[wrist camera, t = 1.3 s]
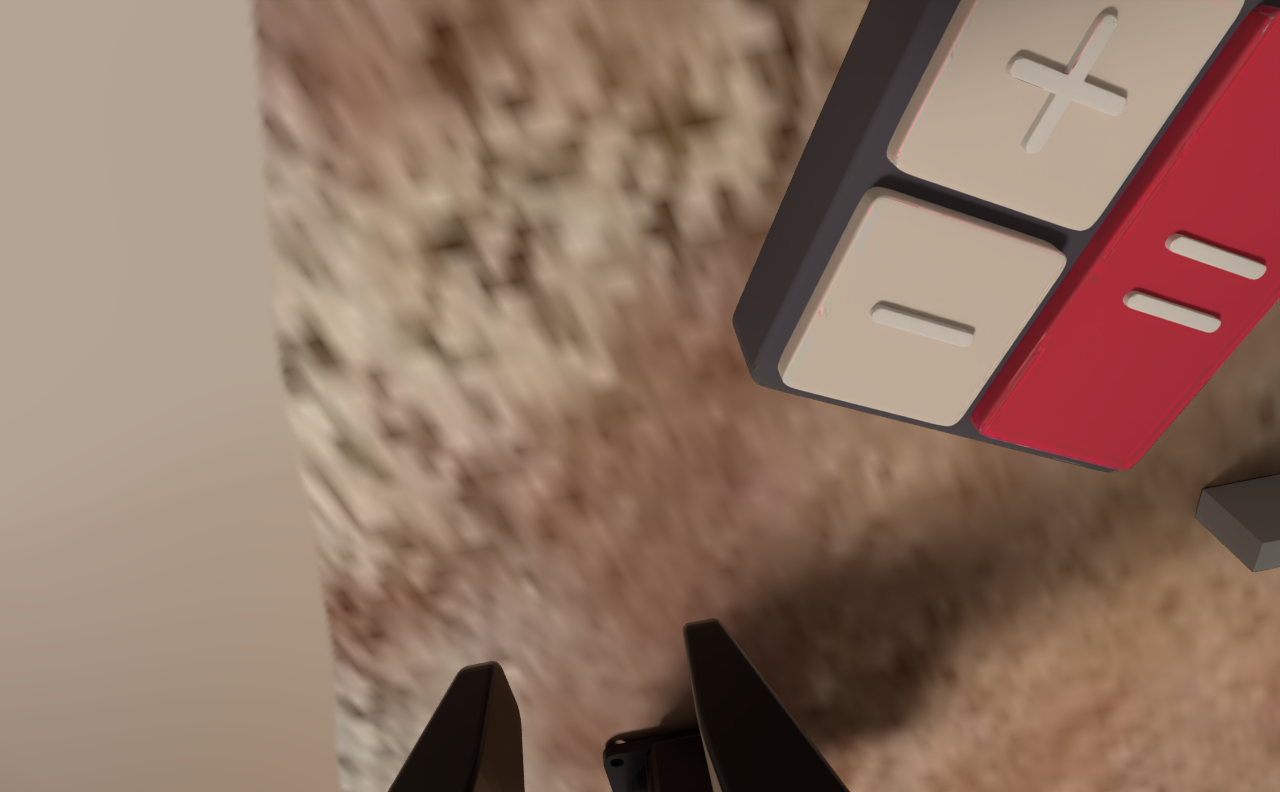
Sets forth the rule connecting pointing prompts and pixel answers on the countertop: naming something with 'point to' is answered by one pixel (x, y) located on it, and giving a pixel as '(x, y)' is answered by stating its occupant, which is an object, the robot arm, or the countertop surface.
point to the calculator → (1029, 220)
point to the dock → (1245, 520)
